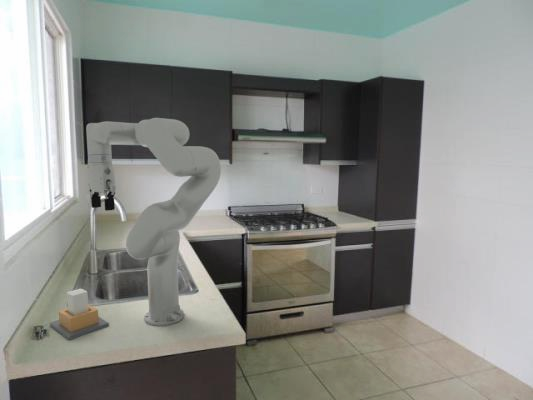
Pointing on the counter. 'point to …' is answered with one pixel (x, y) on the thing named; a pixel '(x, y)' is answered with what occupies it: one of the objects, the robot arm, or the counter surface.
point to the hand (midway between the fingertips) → (103, 208)
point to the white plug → (77, 302)
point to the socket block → (78, 323)
